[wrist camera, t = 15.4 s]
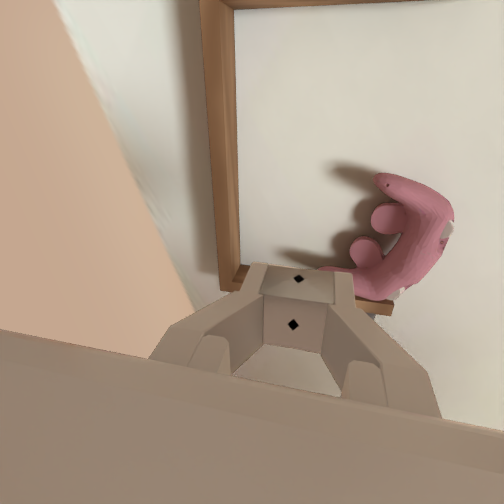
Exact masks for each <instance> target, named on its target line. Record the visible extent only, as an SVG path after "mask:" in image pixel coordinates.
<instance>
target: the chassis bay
mask: <svg viewBox="0 0 504 504" xmlns="http://www.w3.org/2000/svg"><path fill="white" fill-rule="evenodd" d="M402 1H422V0H199V6H200V20H201V34H202V47H203V61H204V75H205V89H206V103H207V116H208V130H209V144H210V158H211V171H212V185H213V199H214V213H215V226H216V240H217V254H218V268H219V282H220V290H221V291H227V292H234V291H240V289H241V287H242V284H243V282H244V280H245V278H246V275H247V273H248V271H249V268H250V266H248V265H240V230H239V192H238V153H237V115H236V77H235V38H234V10H236V9H257V8H277V7H298V6H319V5H339V4H360V3H381V2H402ZM355 304H356V308H361V309H362V310H363V311H364V312H365V313H366V314H367V315H368V316H369V317H371V318H372V319H373V320H374V318H375V315H376V314H379V315H386V316H391V314H392V311H393V308H394V302H393V300H388V299H384V300H381V301H374V300H369V299H366V298H363V297H359V296H356V295H355Z"/></svg>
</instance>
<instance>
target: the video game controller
mask: <svg viewBox="0 0 504 504" xmlns="http://www.w3.org/2000/svg"><path fill="white" fill-rule="evenodd" d="M373 182H374V183H375V185H376V186H377V187H378V188H379V189H380V190H381V191H382V192H383V193H385V194H386V195H387V196H389V197H391V198H392V199H394V200H396V201H398V202H400V203H382V204H380V205H379V206H377V207H376V208H375V210H374V211H373V214H372V216H371V225H372V227H373V228H374V230H376V231H377V232H379V233H382V234H395V233H401V236H400V238H399V239H398V241H397V243H396V244H395V246H394V247H393V248H392V250H391V251H390V252H389V253H388V254H387V255H384V254H383V253H382V250H381V247H380V245H379V244H378V243H377V242H376V241H375V240H374V239H372V238H370V237H366V236H362V237H358V238H357V239H355V240H354V241H353V243H352V244H351V246H350V256H351V258H352V260H353V261H354V262H355V264H356V265H357V267H356V268H354V269H346V268H340V267H334V266H324V267H320V268H319V269H318V270H322V271H332V272H346V273H351V274H352V276H353V285H354V295H356V296H359V297H363V298H366V299H369V300H374V301H381V300H384V299H388V300H396V299H397V298H398V297H399V295H400V294H401V293H403V292H404V290H406V289H407V288H409V287H410V286H412V285H413V284H416V283H418V282H419V281H420V280H421V279H422V278H423V277H424V276H425V275H426V274H427V273H428V271H429V270H430V269H431V268H432V267H433V265H434V264H435V263H436V262H437V261H438V259H439V258H440V257H441V255H442V253H443V250H444V248H445V246H446V244H447V241H448V239H449V237H450V236H451V234H452V233H453V229H454V212H453V208H452V206H451V204H450V203H449V201H448V200H447V199H446V198H444V197H443V196H442V195H440V194H439V193H438V192H436V191H434V190H433V189H431V188H429V187H427V186H425V185H423V184H421V183H418V182H416V181H413V180H410V179H407V178H404V177H401V176H398V175H394V174H389V173H378V174H376V175H375V176H374V177H373Z"/></svg>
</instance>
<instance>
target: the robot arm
mask: <svg viewBox="0 0 504 504" xmlns="http://www.w3.org/2000/svg"><path fill="white" fill-rule="evenodd" d="M263 344H269V345H276V346H282V347H289V348H295V349H300V350H305V351H309V352H314V353H319V354H321V357H322V359H323V360H324V362H325V364H326V366H327V367H328V369H329V371H330V373H331V374H332V376H333V378H334V380H335V381H336V383H337V385H338V387H339V388H340V390H341V392H342V393H341V397H340V398H339V397H334V396H329V395H324V394H319V393H314V392H309V391H304V390H299V389H294V388H289V387H284V386H279V385H274V384H269V383H264V382H259V381H254V380H249V379H244V378H239V377H235V376H231V374H232V373H234V372H235V371H236V370H237V369H238V368H239V367H240V366H241V365H242V364H243V363H244V362H245V361H246V360H247V359H248V358H250V357H251V356H252V355H253V354H254V353H255V352H256V351H257V350H258V349H259V348H260V347H261V346H262V345H263ZM0 504H504V431H501V430H496V429H491V428H486V427H481V426H476V425H471V424H466V423H461V422H456V421H452V420H447V419H442V416H441V413H440V410H439V407H438V404H437V401H436V398H435V395H434V391H433V388H432V385H431V382H430V379H429V376H428V373H427V371H426V370H425V369H424V368H423V367H422V366H421V365H419V364H418V363H417V362H416V361H415V360H414V359H413V358H412V357H411V356H410V355H409V354H408V353H407V352H406V351H405V350H404V349H403V348H402V347H401V346H400V345H399V344H398V343H397V342H396V341H394V340H393V339H392V338H391V337H390V336H389V335H388V334H387V333H386V332H385V331H384V330H383V329H382V328H381V327H380V326H379V325H378V324H377V323H376V322H375V321H374V320H373V319H372V318H371V317H369V316H368V315H367V314H366V313H365V312H364V311H363V310H362V309H361V308H356V304H355V295H354V285H353V276H352V274H351V273H346V272H332V271H322V270H311V269H301V268H297V267H290V266H283V265H276V264H268V263H261V262H253V263H252V264H251V266H250V268H249V271H248V273H247V275H246V278H245V280H244V282H243V284H242V287H241V289H240V291H234V292H232V293H230V294H228V295H226V296H224V297H223V298H221V299H219V300H217V301H215V302H213V303H212V304H210V305H208V306H206V307H204V308H203V309H201V310H199V311H197V312H195V313H193V314H192V315H190V316H188V317H186V318H184V319H182V320H181V321H179V322H177V323H175V324H173V325H171V326H170V327H169V328H168V330H167V331H166V333H165V334H164V336H163V337H162V339H161V340H160V342H159V343H158V345H157V346H156V348H155V349H154V351H153V352H152V354H151V355H150V357H149V358H148V359H145V358H140V357H135V356H130V355H125V354H121V353H116V352H111V351H106V350H100V349H95V348H91V347H86V346H81V345H76V344H71V343H66V342H61V341H56V340H51V339H46V338H41V337H36V336H31V335H26V334H22V333H16V332H12V331H7V330H2V329H0Z"/></svg>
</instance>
